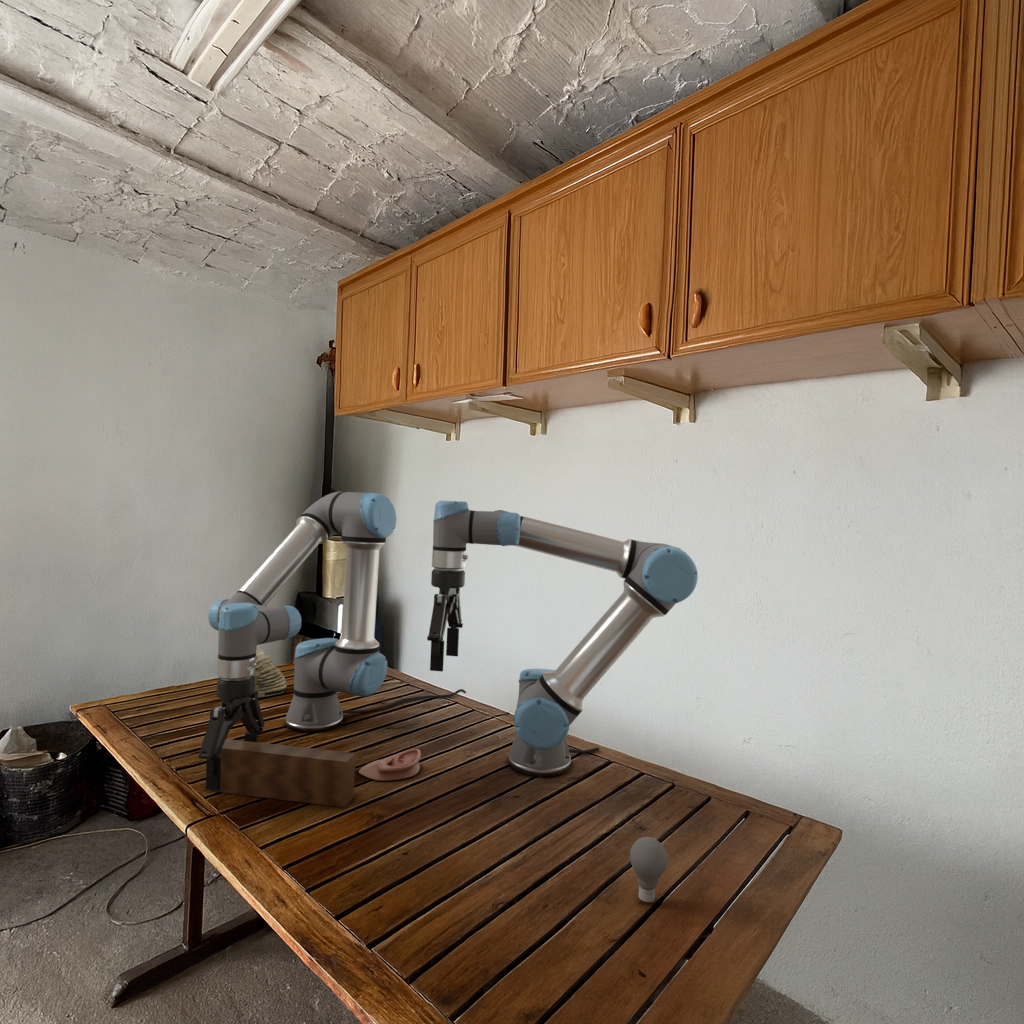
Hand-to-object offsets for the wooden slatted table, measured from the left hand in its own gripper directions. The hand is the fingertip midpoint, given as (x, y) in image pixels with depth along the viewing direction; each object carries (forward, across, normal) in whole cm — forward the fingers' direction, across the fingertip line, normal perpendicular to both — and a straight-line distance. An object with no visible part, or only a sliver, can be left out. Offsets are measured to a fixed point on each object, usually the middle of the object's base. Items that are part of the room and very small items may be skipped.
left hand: (232, 775), depth 136 cm
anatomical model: (+3, +16, -30) cm, 34 cm away
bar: (+3, 0, -11) cm, 12 cm away
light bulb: (+3, -20, -86) cm, 88 cm away
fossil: (+3, +58, +30) cm, 66 cm away
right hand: (-24, +14, -42) cm, 51 cm away
